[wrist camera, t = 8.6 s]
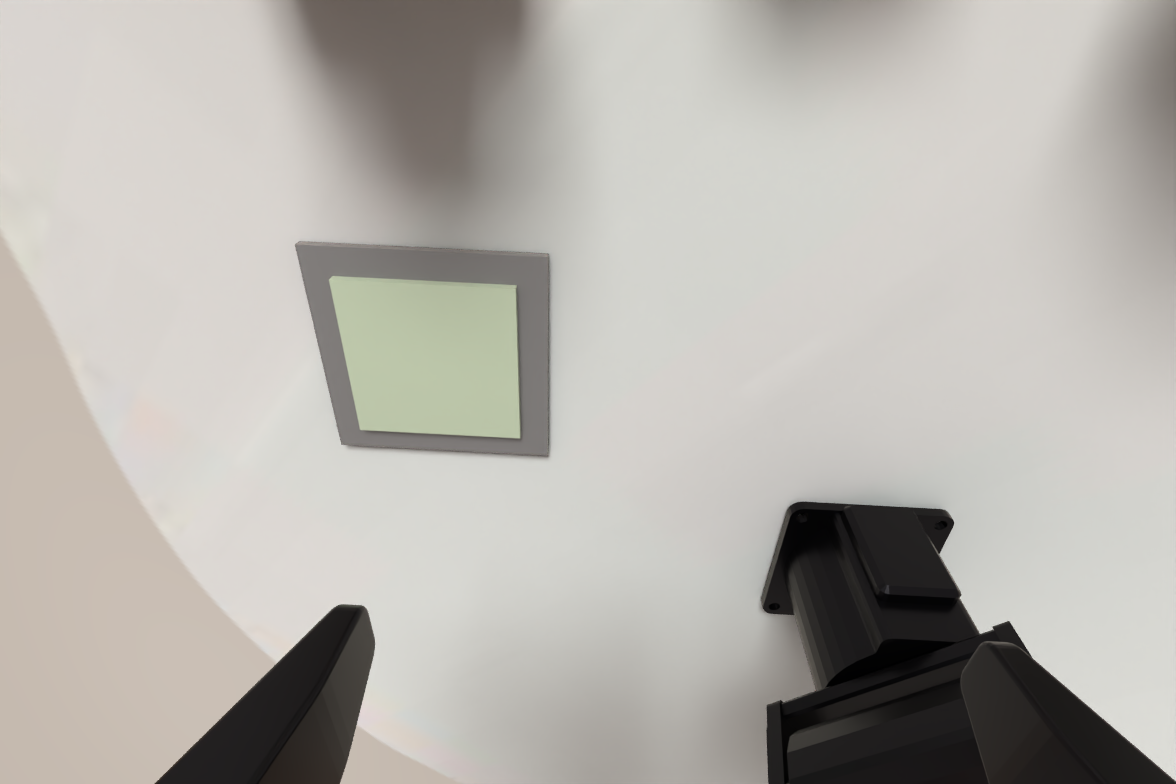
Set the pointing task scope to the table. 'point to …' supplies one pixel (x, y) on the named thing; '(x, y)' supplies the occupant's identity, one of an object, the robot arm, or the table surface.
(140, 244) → the table surface
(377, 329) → the tile
